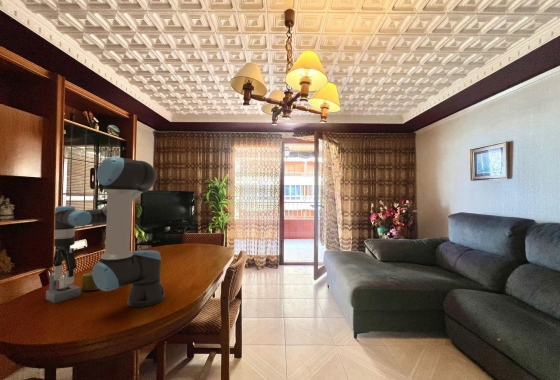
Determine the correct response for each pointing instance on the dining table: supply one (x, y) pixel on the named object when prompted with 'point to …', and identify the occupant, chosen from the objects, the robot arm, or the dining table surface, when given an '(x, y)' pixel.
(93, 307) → the dining table surface
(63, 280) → the pin
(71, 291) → the grey l-shaped block
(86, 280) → the mug
